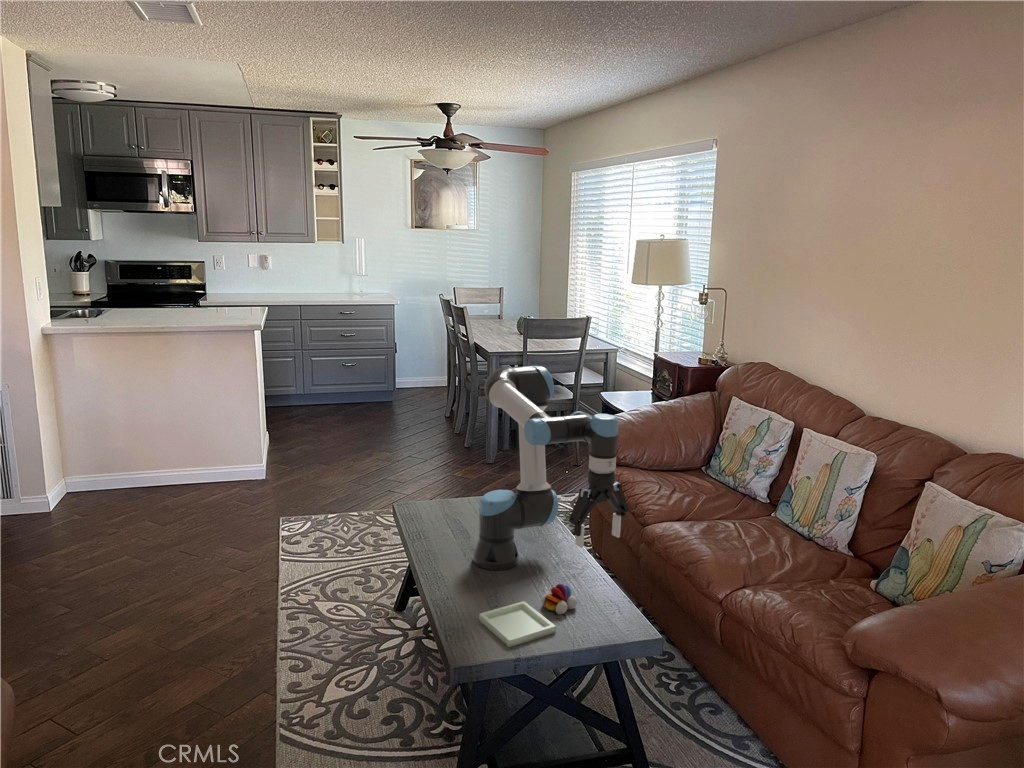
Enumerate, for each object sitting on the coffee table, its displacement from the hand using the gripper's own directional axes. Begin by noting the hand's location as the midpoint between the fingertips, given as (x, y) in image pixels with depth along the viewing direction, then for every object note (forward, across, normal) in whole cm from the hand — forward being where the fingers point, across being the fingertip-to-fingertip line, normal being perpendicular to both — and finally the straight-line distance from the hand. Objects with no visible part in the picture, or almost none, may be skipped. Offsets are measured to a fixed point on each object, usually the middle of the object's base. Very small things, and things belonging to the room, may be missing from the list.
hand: (597, 540), depth 207 cm
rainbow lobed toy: (+22, -7, +7) cm, 25 cm away
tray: (+22, -24, +5) cm, 33 cm away
